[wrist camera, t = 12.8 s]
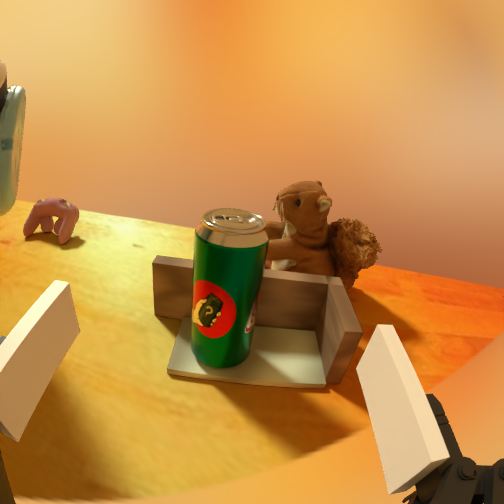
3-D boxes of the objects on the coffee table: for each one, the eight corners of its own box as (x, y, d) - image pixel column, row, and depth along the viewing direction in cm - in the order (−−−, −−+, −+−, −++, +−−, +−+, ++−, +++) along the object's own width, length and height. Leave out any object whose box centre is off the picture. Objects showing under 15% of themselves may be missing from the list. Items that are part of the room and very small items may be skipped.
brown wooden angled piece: (133, 366, 23) (123, 310, 20) (158, 306, 31) (156, 255, 28) (340, 388, 24) (365, 337, 21) (324, 325, 31) (339, 277, 29)
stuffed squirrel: (255, 260, 43) (269, 166, 38) (352, 275, 43) (376, 186, 37) (247, 300, 34) (264, 183, 29) (366, 316, 34) (402, 210, 28)
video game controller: (78, 246, 43) (85, 202, 43) (61, 245, 38) (70, 197, 38) (36, 237, 43) (43, 197, 43) (19, 235, 39) (27, 192, 39)
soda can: (254, 371, 24) (281, 235, 19) (192, 373, 23) (197, 231, 18) (243, 331, 28) (262, 208, 23) (189, 332, 27) (194, 204, 22)
